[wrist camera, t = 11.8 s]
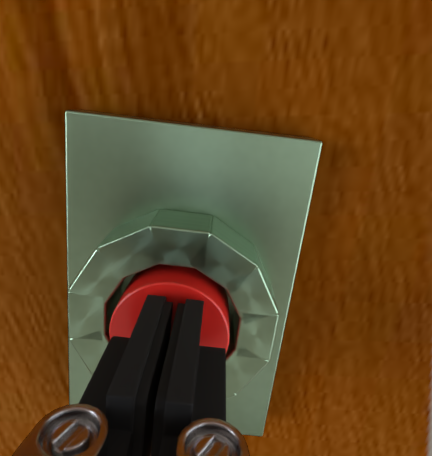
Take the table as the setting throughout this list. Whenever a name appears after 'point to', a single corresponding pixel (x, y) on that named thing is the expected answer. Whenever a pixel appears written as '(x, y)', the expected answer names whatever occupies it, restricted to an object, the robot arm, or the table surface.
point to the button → (175, 301)
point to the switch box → (186, 233)
